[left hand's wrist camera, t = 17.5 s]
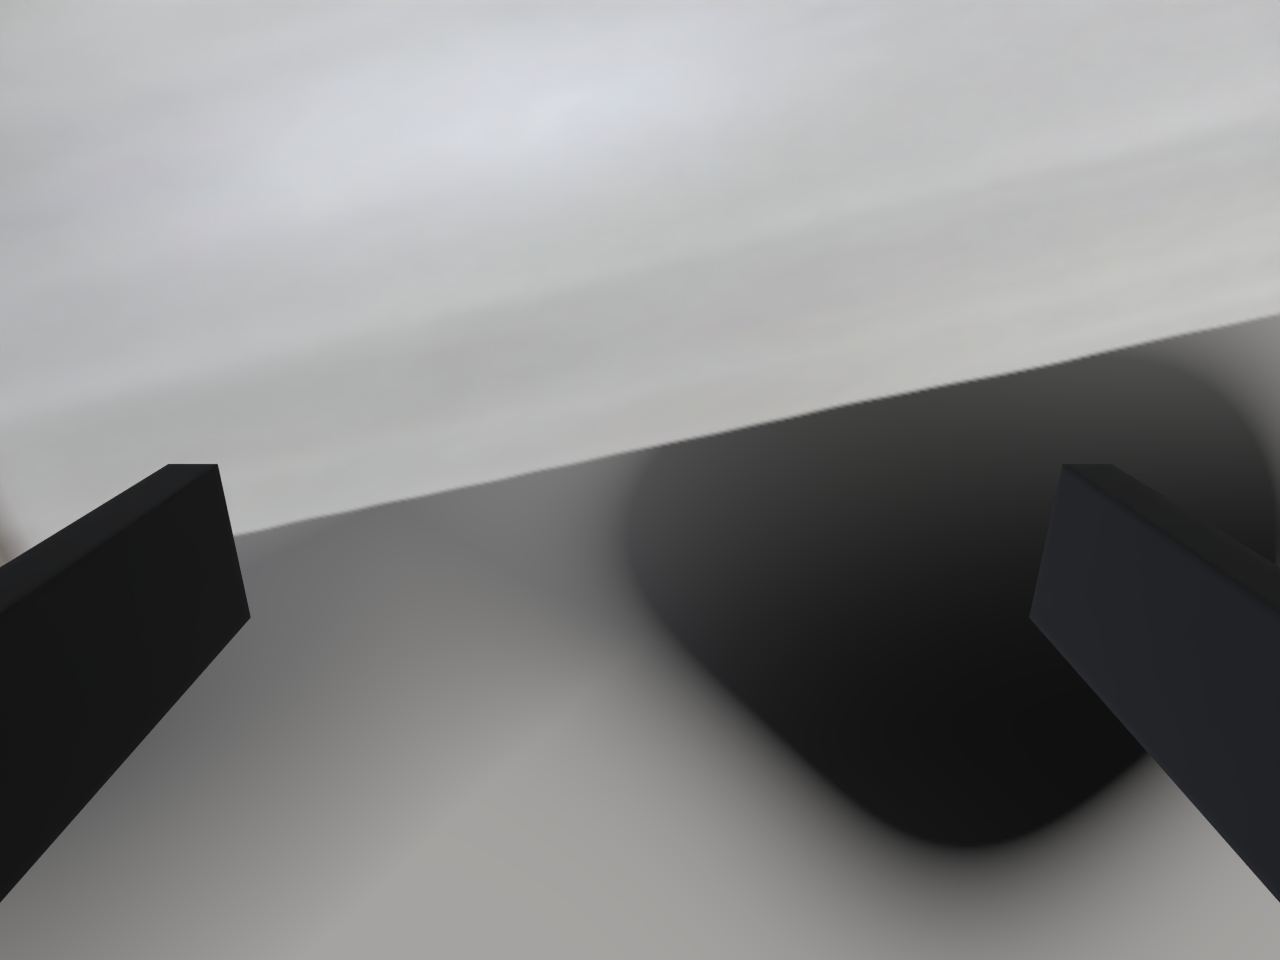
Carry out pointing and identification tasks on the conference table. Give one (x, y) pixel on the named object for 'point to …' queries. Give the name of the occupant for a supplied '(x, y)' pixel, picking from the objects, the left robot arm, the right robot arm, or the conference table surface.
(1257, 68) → the conference table surface
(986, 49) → the conference table surface
